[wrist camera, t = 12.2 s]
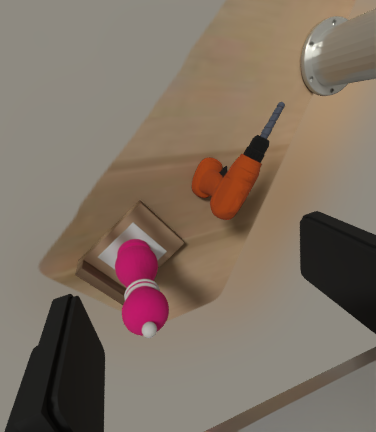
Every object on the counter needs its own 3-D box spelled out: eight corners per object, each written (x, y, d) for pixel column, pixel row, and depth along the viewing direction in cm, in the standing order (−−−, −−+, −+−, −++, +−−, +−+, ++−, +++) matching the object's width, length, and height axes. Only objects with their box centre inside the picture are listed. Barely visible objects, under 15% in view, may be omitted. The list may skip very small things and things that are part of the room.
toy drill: (254, 105, 44) (310, 112, 31) (206, 197, 50) (237, 235, 37) (232, 92, 42) (282, 93, 29) (185, 189, 48) (209, 226, 35)
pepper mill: (142, 275, 48) (162, 363, 30) (107, 263, 45) (106, 354, 27) (160, 244, 47) (191, 317, 29) (125, 230, 44) (136, 302, 26)
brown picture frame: (139, 200, 45) (142, 208, 41) (181, 239, 51) (188, 249, 46) (78, 260, 46) (75, 274, 41) (126, 292, 51) (128, 308, 47)
